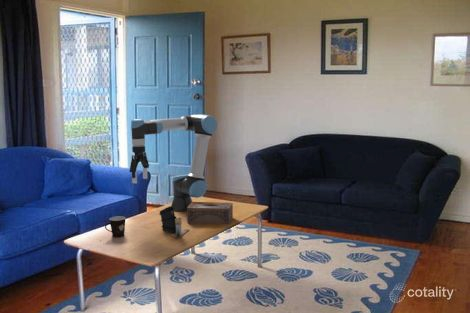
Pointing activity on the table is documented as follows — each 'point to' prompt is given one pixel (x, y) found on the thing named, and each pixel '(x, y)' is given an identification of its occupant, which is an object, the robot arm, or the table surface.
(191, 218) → the tissue box cover
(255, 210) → the table surface
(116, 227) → the coffee mug
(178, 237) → the strip
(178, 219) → the metal flashlight
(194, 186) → the robot arm
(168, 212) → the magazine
